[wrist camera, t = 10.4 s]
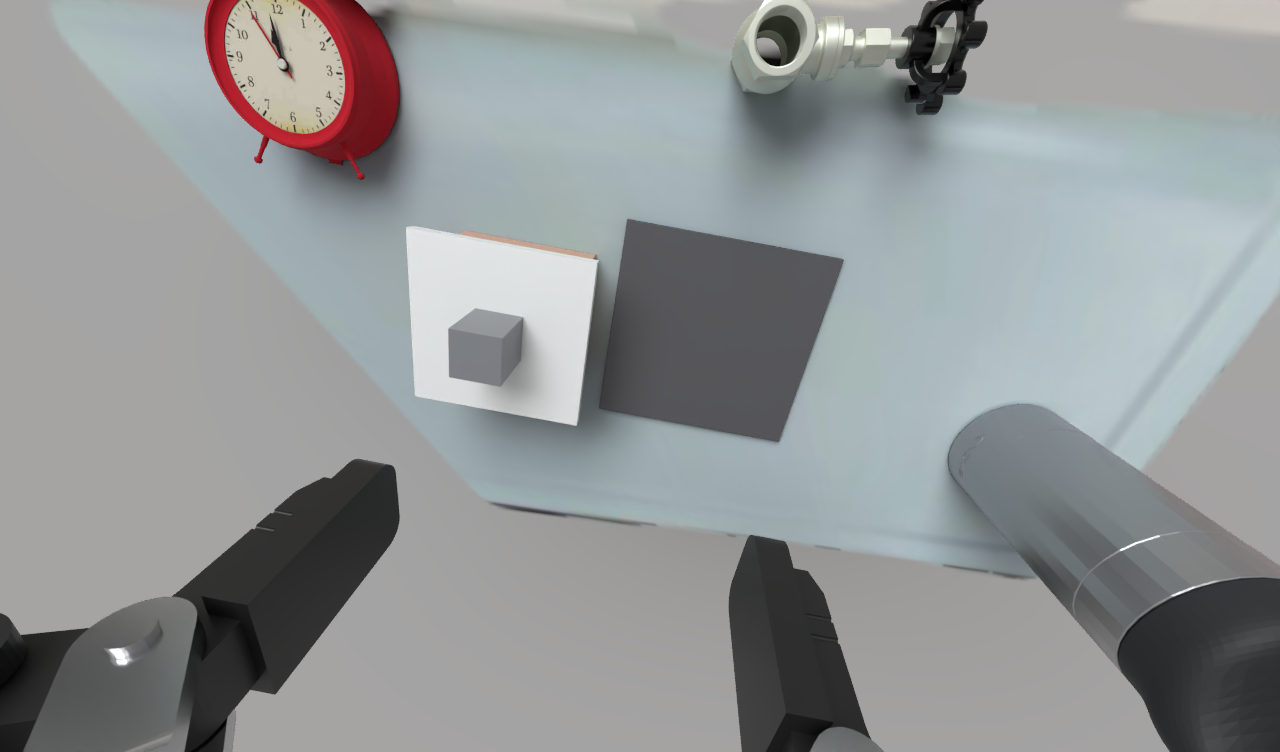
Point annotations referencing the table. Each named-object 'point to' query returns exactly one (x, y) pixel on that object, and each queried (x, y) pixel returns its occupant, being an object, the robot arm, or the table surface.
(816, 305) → the mat
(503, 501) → the table surface
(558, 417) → the lid
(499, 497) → the table surface
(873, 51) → the valve
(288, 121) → the alarm clock
